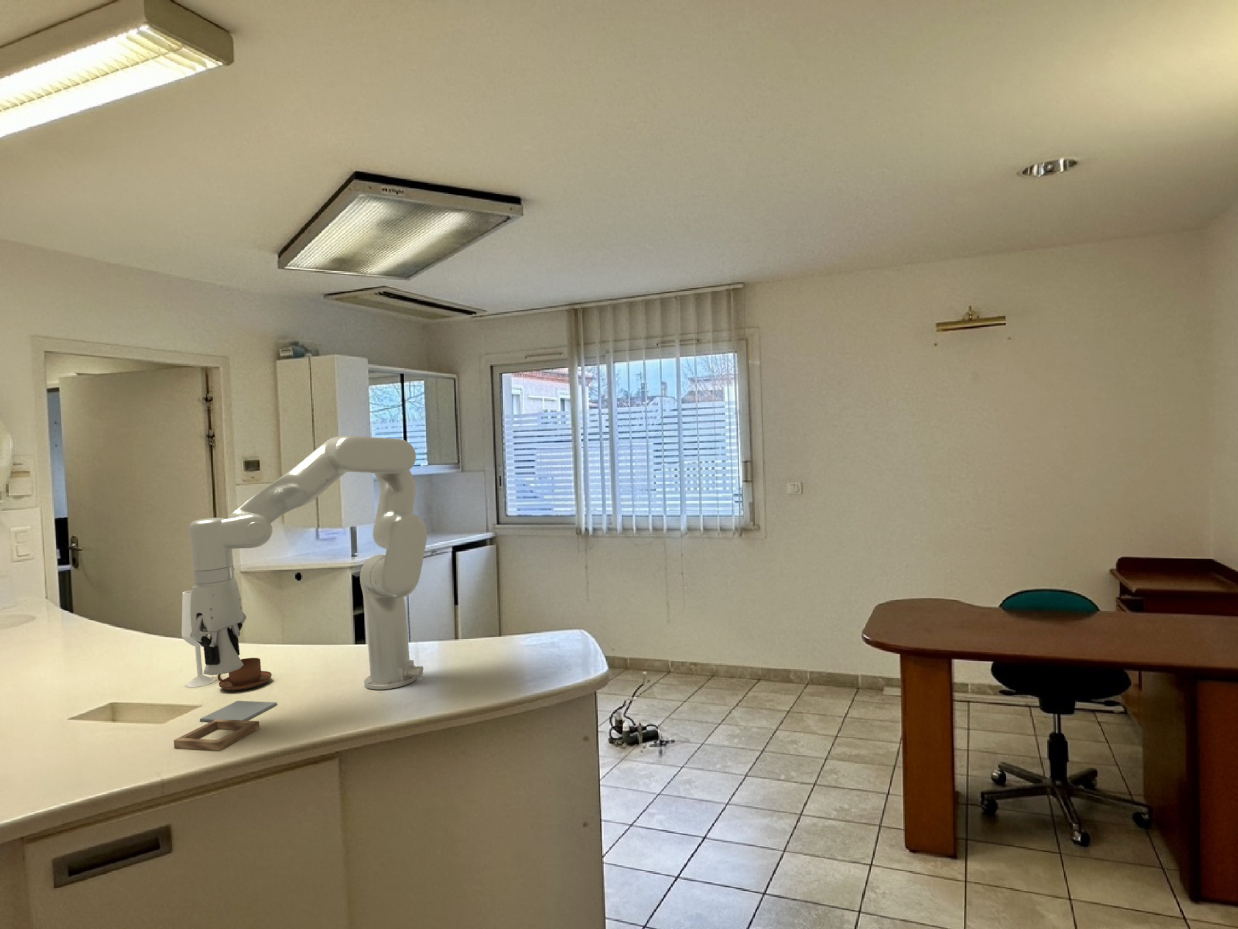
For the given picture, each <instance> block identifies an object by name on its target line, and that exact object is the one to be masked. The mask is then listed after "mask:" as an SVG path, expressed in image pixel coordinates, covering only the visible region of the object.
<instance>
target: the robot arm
mask: <svg viewBox="0 0 1238 929" xmlns="http://www.w3.org/2000/svg"><path fill="white" fill-rule="evenodd" d="M416 455H417V453H416V450H415V448H414V446H413V445H412V444H411V443H410V442H409V441H407V440H405V439H401V438H390V437H389V438H388V437H373V436H372V437H371V436H361V435H339V436H333V437H331V438H329V439H327V440H326V441H325V442H323V443H322V444H321V445H319V446H318V447H317V448H315V450H313V451H312V452H311V453H310V454H308V455H307V456H306V457H305V458H303V460H301V461H300V462H299V463H297V464H296V465H295V466H293V468H291V469H290V470H288V472H286V473H285V474H284V475H281V476H280V477H279V478H277V479H276V480H274V481H273V482H272V483H270V484H269V485H267V486H266V487H264V488H263V489H261V490H260V491H259V492H257V493H256V494H254V495H253V496H251V497H250V498H249V499H248V500H246V501H245V502H244V503H242V504H241V505H240V506H239V507H238V508H236V509H235V510H234V511H233V512H232V513H231V514H230V515H228V517H227V518H225V517H209V518H200V519H196V520H193V521H191V523H190V524H189V528H188V530H189V531H188V532H189V542H190V552H191V559H192V570H193V579H194V580H193V581H194V585H193V586H192V587H191V590H192V591H191V590H190V591H191V602H190V615H191V628H192V632H191V634H190V637H191V638H192V639H194V640H196V641H197V642H198V643H199V644H200V648H201V647H202V648H203V653H204V664H205V666H206V665H218V664H220V657H219V647H218V646H215V645H216V637H217V631H219V630H222V629H224V628H227V632H228V636H229V639H230V641H231V643H232V645H233V647H234V649H235V651H236V653H237V654H238V656H239V657H240V655H241V654H240V644H239V637H240V635H241V630H242V628H243V625H244V623H245V622H246V619H247V615H246V614H245V613H244V611H243V603H242V599H241V592H240V590H239V585H238V582H237V578H235V567H234V566H235V565H234V559H233V558H234V557H233V549H234V550H235V549H256V548H259V547H262V546H264V545H265V544H266V543H268V541H269V540H270V539H271V537H272V534H273V526H272V523H273V522H275V521H277V519H279V518H280V517H282V516H283V515H285V514H286V513H288V512H291V511H293V510H295V509H298V508H302V507H303V506H306V505H307V504H310V503H312V502H313V501H314V500H316V499H317V498H318V497H319V496H321V494H323V493H324V492H325V491H326V490H328V488H330V487H331V486H332V485H333V484H334V483H335V482H337V481H338V480H339V479H341V477H343V476H344V475H345V474H346V473H348V472H349V473H365V474H374V475H375V477H376V479H377V482H378V483H379V500H378V505H377V509H376V514H375V520H374V525H373V530H372V537H373V541H374V542H375V544H376V545H378V547H380V548H382V549H385V554H377V555H373V556H371V557H369V558H368V559H367V560H366V561H365V562H364V563H363V565H362V566H361V569H360V573H359V581H360V582H359V584H360V588H361V591H362V596H363V601H364V608H365V610H364V611H365V618H366V619H365V620H366V633H367V634H366V636H367V647H368V659H369V660H368V661H369V672H370V673H369V674H370V675H368V676H366V678H364V682H363V684H364V687H365V688H367V689H370V690H389V689H395V688H400V687H403V686H407V685H409V684H412V683H413V682H414V681H416V680H417V679H418V677H423V675H424V666H421V665H418V666H415V662H414V660H413V659H410V647H409V646H410V645H409V636H408V634H409V633H408V623H407V622H408V620H407V616H408V615H407V607H406V600H405V597H407V596H409V595H410V594H411V593H413V591H414V590H415V589H416V587H417V586H418V583H419V581H420V577H421V572H422V567H423V562H424V557H425V552H426V545H427V540H428V539H427V534H428V532H427V528H426V525H425V522H424V521H423V520H422V518H421V517H419V516H418V515H416V514H414V507H415V499H416V483H415V480H414V477H413V474H412V472H411V469H412V468H413V467H414V465H415V464H416V460H417V456H416ZM201 632H202V634H201ZM208 634H210V636H209V637H208Z"/></svg>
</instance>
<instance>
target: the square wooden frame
mask: <svg viewBox="0 0 1238 929" xmlns="http://www.w3.org/2000/svg"><path fill="white" fill-rule="evenodd" d="M259 729H260V721H259V720H247V721H245V720H225V719H216V720H214V721H212V722H207V723H205V724H204V725H201V726H200V727H197V728H195V729H194V730H191V731H190V732H188V733H185V734H184V735H181V736H179V737H177V738H175V739H173V748H174V749H185V750H199V751H201V750H202V751H216V752H218V751H219V752H220V751H221V750H223V749H225V748H227V747H228V746H230V745H232V744H234V743H237V741H240V740H241V739H243V738H245V737H247V736H249V735H250V734H253V733H254V732H256V731H258V730H259ZM216 730H231V731H232V730H234V731H232V732H231V733H229V734H227V735H225V736H223V737H221V738H219V739H208V738H207V739H206V738H205V739H204V738H202V737H204V736H206V735H208V734H210V733H212V732H214V731H216Z"/></svg>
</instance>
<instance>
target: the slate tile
mask: <svg viewBox="0 0 1238 929" xmlns="http://www.w3.org/2000/svg"><path fill="white" fill-rule="evenodd" d="M277 705H278V702H275V701H273V702H272V701H253V700H252V701H250V700H249V701H248V700H236V701H234V702H233V703H232V702H231V703H229V704H228V705H226V706H223V707H222V708H220V709H217V710H216V711H213V712H211V713H209V714H207V715H205V716H203V717H201V718H199V722H201V723H202V722H203V723H204V722H205V723H210V722H212V721H214V720H216V719H225V720H245V721H250V720H251V719H253V718H255V717H257V716H259V715H260V714H262V713H265V712H266V711H268V710H270V709H272V708H274V707H276V706H277Z"/></svg>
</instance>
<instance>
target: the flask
mask: <svg viewBox="0 0 1238 929" xmlns="http://www.w3.org/2000/svg"><path fill="white" fill-rule="evenodd" d="M215 646H218V647H219V657H220V664H218V665H206V664H205V667H204V670H203V672H202V673H203V675H206V676H207V675H209V676H214V675H216V676H218V674H221V675H224V674H229V672H232V671H235V670H238V669H240V668H241V667H242V666H243V663H242V661H241V658H240V655H239V656H238V654H237V653H236V651H235V649H234V647H233V645H232V643H231V641H230V639H229V636H228V632H227V628H224V629H222V630H219V631H217V637H216V645H215Z"/></svg>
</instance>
